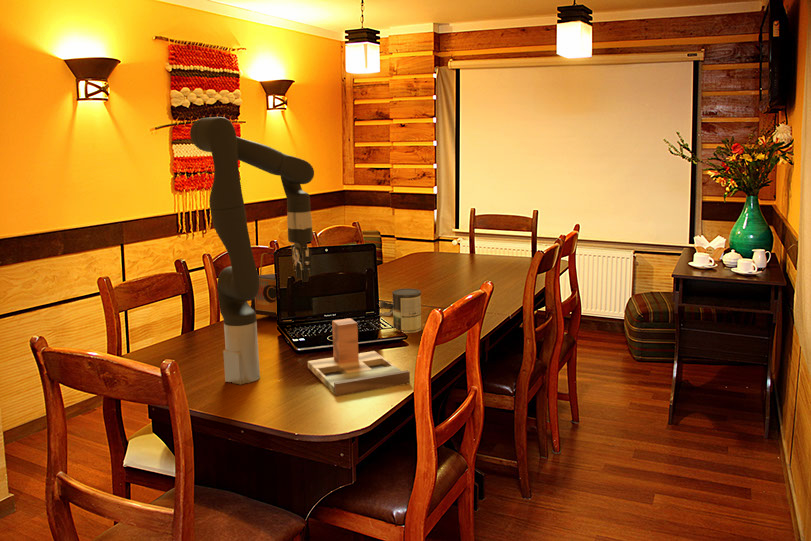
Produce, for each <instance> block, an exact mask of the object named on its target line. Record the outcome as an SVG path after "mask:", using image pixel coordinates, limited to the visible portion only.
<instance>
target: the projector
mask: <svg viewBox="0 0 811 541" xmlns="http://www.w3.org/2000/svg"><path fill="white" fill-rule="evenodd" d="M274 253H275V252H264V253H262V254H261V259H260V269H259V274H258V276H259V282H260V285H259V291H258V294H257V295H256V297H255V298H254V299H252V300H250V301H251V302H250V307H251V308H252V309H253V310H254V311H255V312H256V315H258V316H265V317H267V316H268V318H272V317H273V318H275V317H276V318H278V317H277V314H276V279H275V274H276V273H269V274H268V273H267V274H262V268H263V257H264V255H265V254H266V255H267V254H268V255H274ZM274 256H275V255H274Z"/></svg>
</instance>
